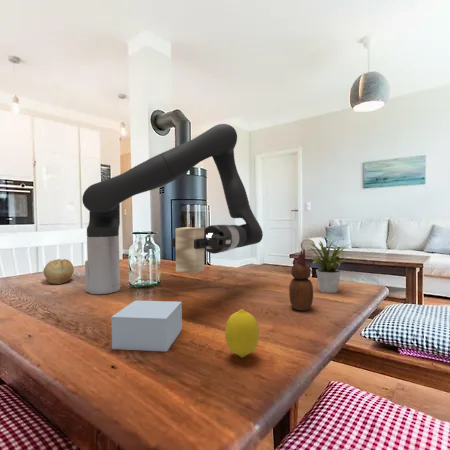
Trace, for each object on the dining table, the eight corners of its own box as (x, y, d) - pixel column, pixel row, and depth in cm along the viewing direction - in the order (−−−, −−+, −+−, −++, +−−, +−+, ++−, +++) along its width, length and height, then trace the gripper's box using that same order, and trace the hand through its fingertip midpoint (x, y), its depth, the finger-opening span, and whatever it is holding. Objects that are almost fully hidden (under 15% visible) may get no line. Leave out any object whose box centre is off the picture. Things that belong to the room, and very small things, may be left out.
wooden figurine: (314, 313, 71) (314, 250, 70) (289, 312, 72) (289, 249, 72) (311, 305, 78) (311, 247, 77) (289, 304, 79) (288, 246, 78)
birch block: (175, 271, 69) (175, 228, 69) (185, 267, 74) (185, 227, 74) (195, 273, 68) (195, 228, 67) (204, 269, 72) (204, 227, 72)
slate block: (112, 350, 53) (111, 316, 53) (135, 328, 63) (135, 300, 63) (166, 352, 52) (166, 318, 52) (181, 330, 62) (181, 301, 62)
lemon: (224, 350, 52) (223, 305, 52) (255, 349, 53) (255, 303, 52) (227, 366, 47) (226, 315, 46) (262, 364, 47) (261, 314, 47)
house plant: (291, 290, 92) (291, 237, 91) (312, 283, 102) (312, 234, 101) (337, 299, 82) (337, 240, 82) (355, 289, 92) (355, 236, 92)
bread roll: (70, 276, 118) (70, 256, 118) (77, 283, 106) (76, 260, 106) (42, 279, 113) (41, 258, 113) (45, 287, 101) (44, 263, 100)
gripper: (199, 224, 86) (159, 226, 72) (244, 225, 79) (210, 228, 65) (199, 250, 87) (159, 257, 72) (244, 253, 80) (210, 262, 65)
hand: (184, 243), depth 68 cm, fingers closed on birch block, 5 cm apart
